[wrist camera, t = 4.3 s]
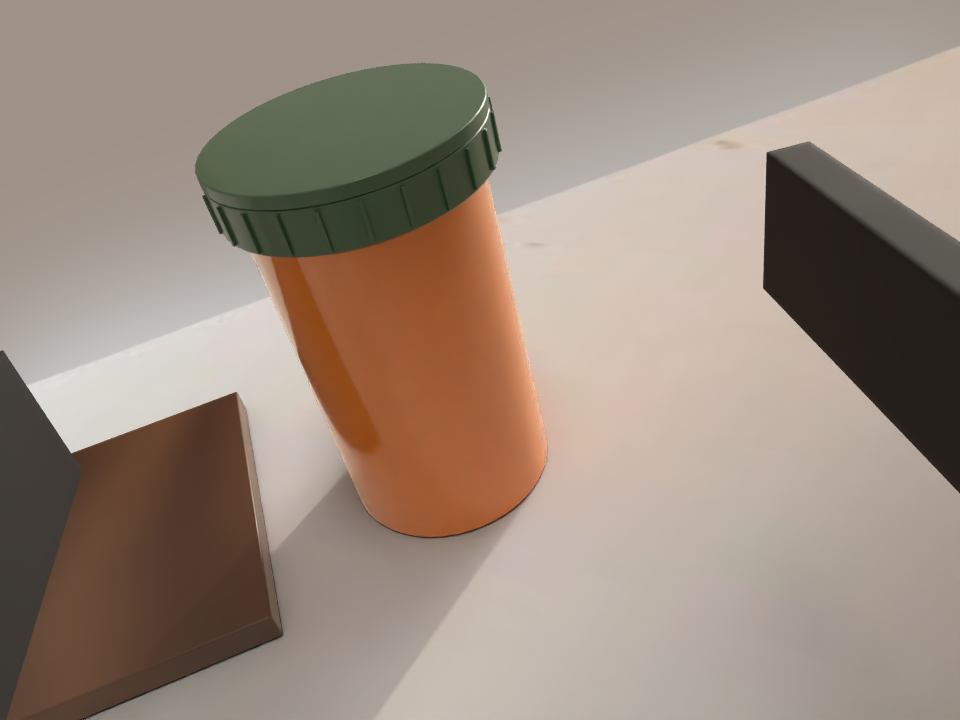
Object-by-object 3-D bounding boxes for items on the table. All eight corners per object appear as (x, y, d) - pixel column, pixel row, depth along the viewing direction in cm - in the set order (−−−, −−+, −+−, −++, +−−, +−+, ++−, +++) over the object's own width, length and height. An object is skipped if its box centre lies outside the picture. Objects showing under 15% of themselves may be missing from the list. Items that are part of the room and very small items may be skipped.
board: (246, 408, 34) (237, 390, 34) (283, 635, 25) (271, 617, 24) (-145, 555, 32) (-162, 539, 32) (-265, 864, 23) (-293, 850, 22)
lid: (364, 106, 27) (349, 55, 26) (559, 132, 22) (549, 70, 21) (164, 225, 23) (136, 171, 22) (350, 288, 18) (326, 222, 17)
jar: (444, 374, 33) (352, 78, 26) (586, 430, 29) (526, 96, 22) (318, 488, 30) (169, 181, 22) (460, 571, 26) (335, 226, 18)
